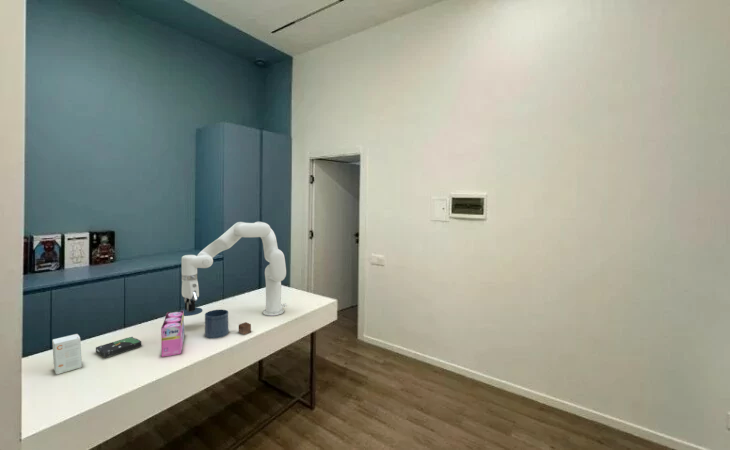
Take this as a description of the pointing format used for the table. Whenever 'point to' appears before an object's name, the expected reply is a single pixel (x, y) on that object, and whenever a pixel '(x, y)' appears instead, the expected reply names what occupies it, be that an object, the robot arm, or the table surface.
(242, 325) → the block
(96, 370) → the table surface
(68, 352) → the small box
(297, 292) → the table surface
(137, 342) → the disk drive
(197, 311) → the lid
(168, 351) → the gum box
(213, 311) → the canister
